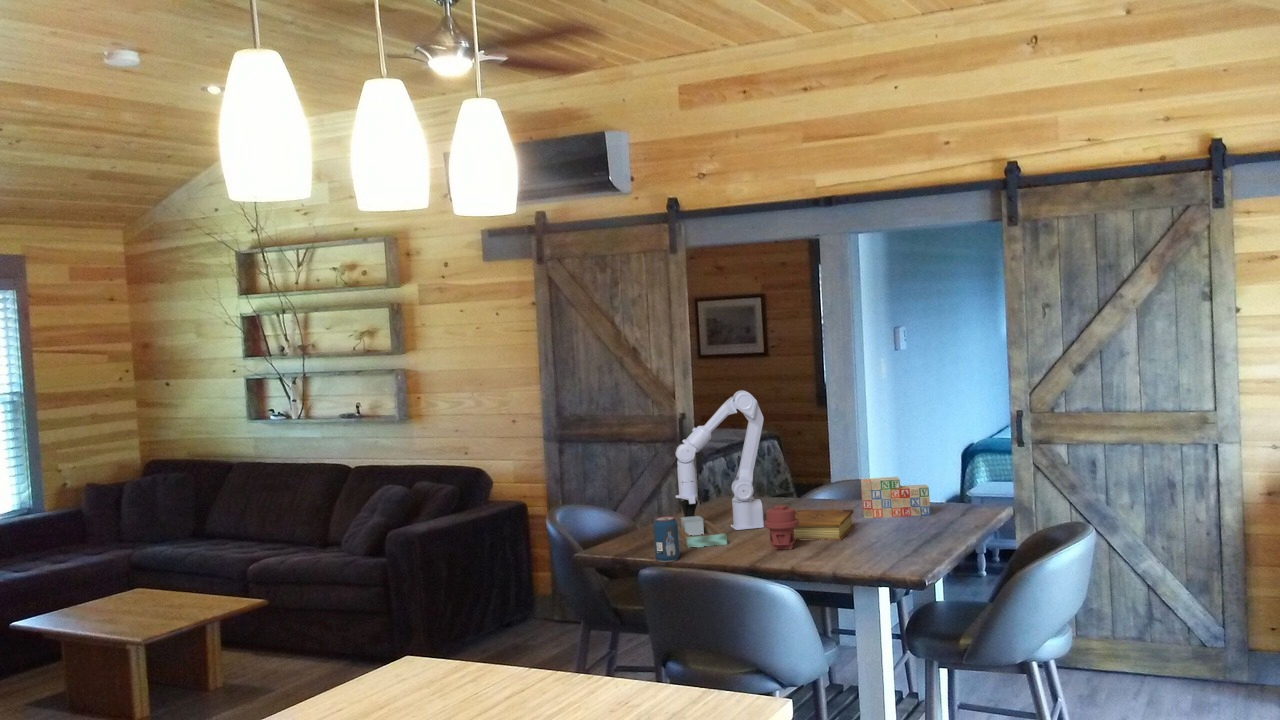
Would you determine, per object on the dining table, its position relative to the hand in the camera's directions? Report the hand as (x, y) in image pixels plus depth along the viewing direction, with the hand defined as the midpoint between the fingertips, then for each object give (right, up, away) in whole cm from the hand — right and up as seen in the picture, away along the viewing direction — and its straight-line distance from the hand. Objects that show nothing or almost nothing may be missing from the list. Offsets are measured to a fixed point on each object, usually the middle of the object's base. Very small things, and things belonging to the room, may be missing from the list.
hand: (689, 523), depth 365 cm
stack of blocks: (+68, +2, +4) cm, 68 cm away
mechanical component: (+25, -2, -37) cm, 45 cm away
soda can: (-8, -5, -42) cm, 43 cm away
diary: (+39, -1, -17) cm, 42 cm away
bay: (+2, -3, -12) cm, 13 cm away
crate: (+1, -3, -4) cm, 5 cm away
